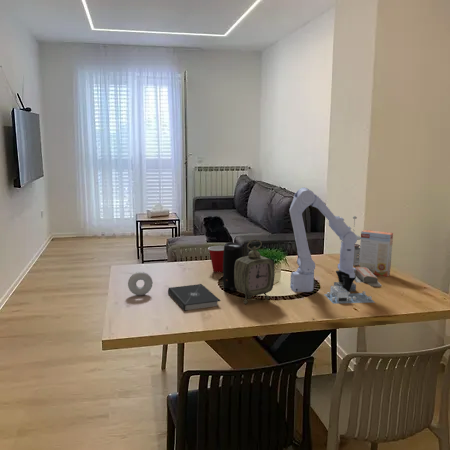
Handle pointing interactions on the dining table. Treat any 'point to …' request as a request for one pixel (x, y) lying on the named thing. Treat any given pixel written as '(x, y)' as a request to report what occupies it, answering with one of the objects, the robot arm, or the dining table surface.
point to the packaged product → (366, 277)
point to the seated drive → (339, 293)
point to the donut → (133, 281)
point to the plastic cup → (217, 257)
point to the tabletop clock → (254, 274)
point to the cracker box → (376, 252)
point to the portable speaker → (230, 263)
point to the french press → (356, 248)
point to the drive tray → (352, 298)
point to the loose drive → (353, 286)
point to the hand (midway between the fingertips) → (344, 289)
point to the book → (193, 297)
